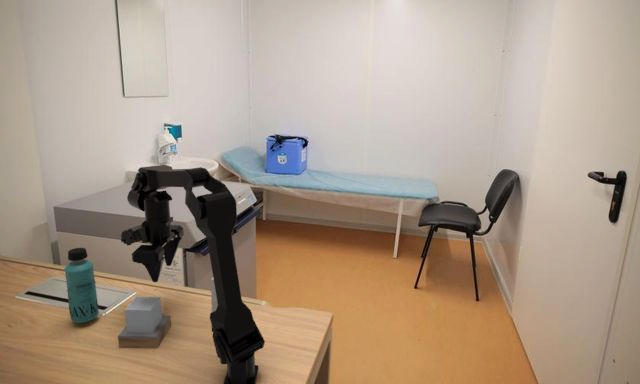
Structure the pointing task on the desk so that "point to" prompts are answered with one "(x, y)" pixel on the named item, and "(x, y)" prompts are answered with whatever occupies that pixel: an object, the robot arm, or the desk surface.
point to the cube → (143, 315)
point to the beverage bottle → (81, 286)
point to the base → (145, 336)
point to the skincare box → (213, 296)
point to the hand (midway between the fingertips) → (162, 273)
